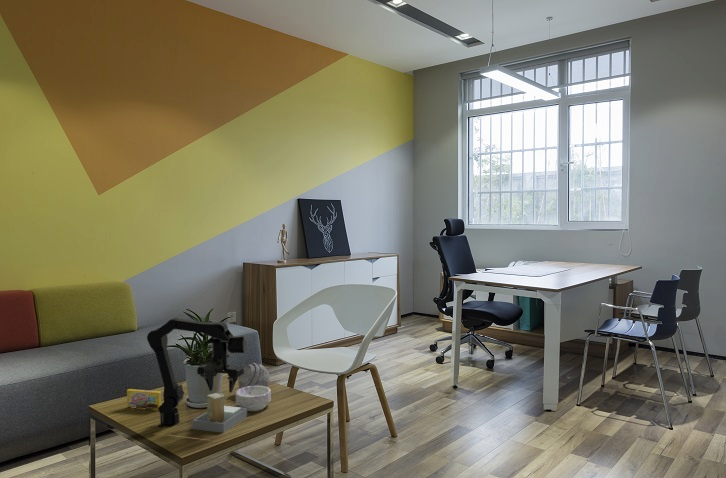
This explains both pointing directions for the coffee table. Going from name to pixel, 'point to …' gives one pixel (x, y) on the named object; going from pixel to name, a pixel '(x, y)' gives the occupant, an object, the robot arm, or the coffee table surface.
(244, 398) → the paper bowls
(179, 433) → the coffee table surface
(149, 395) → the candy box
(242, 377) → the decorative orb
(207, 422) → the tote
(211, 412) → the skincare box
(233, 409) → the white rectangular block
